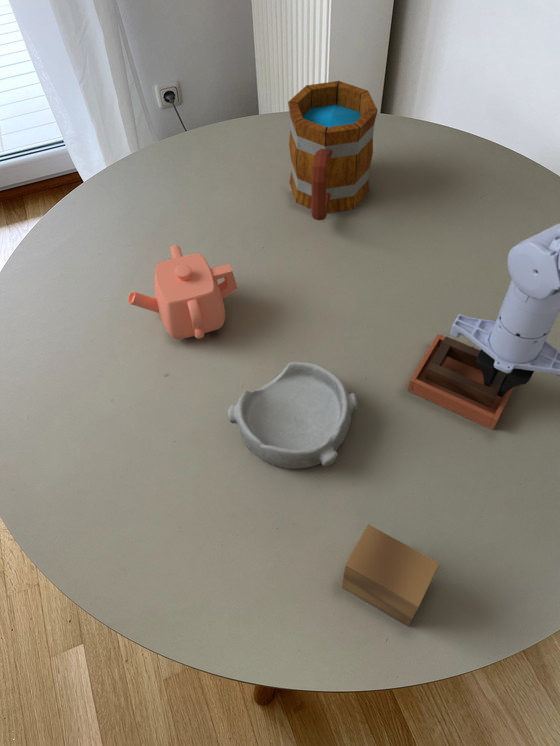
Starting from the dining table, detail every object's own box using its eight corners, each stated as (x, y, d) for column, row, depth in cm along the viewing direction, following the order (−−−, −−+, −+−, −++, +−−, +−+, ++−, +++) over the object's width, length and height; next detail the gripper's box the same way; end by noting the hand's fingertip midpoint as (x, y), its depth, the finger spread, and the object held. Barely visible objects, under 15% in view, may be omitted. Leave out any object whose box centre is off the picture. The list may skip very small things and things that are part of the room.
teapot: (134, 331, 93) (118, 284, 85) (182, 277, 98) (171, 229, 90) (201, 363, 89) (191, 317, 81) (247, 305, 95) (242, 257, 87)
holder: (517, 380, 86) (522, 369, 84) (493, 430, 82) (498, 420, 80) (434, 344, 90) (437, 333, 88) (407, 390, 85) (409, 379, 83)
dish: (218, 438, 82) (214, 417, 78) (281, 364, 88) (280, 341, 84) (314, 498, 77) (315, 479, 73) (373, 415, 83) (377, 394, 79)
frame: (507, 374, 84) (512, 363, 82) (490, 408, 81) (495, 397, 79) (442, 347, 87) (445, 335, 85) (424, 378, 84) (426, 368, 82)
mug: (296, 158, 114) (296, 77, 102) (373, 165, 112) (382, 84, 100) (274, 235, 103) (270, 154, 91) (359, 244, 101) (367, 164, 89)
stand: (427, 586, 71) (439, 563, 65) (408, 627, 68) (418, 607, 62) (362, 549, 73) (368, 523, 67) (341, 587, 71) (345, 564, 65)
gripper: (449, 317, 72) (429, 386, 83) (580, 371, 67) (541, 436, 78) (473, 276, 75) (451, 348, 86) (600, 325, 70) (559, 394, 82)
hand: (495, 387), depth 82 cm, fingers closed on frame, 1 cm apart
